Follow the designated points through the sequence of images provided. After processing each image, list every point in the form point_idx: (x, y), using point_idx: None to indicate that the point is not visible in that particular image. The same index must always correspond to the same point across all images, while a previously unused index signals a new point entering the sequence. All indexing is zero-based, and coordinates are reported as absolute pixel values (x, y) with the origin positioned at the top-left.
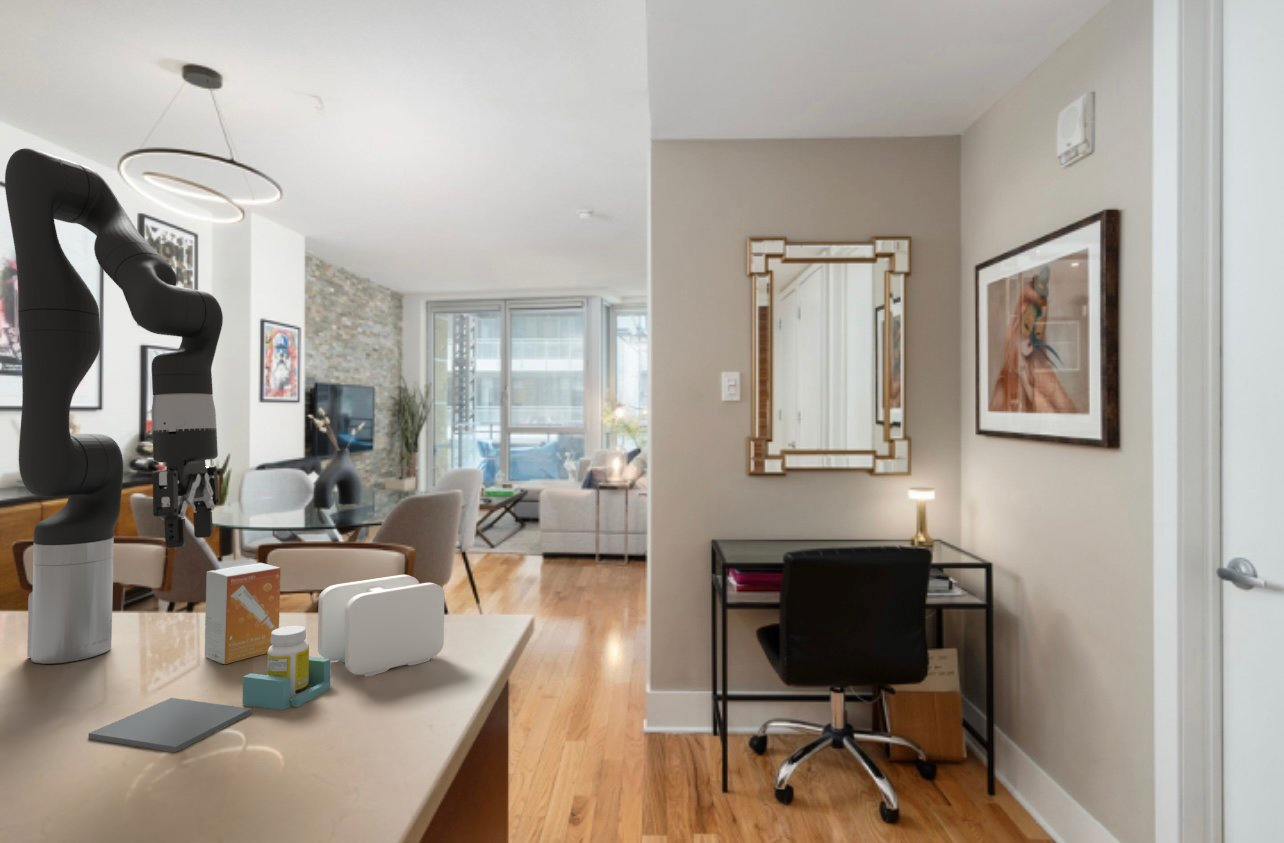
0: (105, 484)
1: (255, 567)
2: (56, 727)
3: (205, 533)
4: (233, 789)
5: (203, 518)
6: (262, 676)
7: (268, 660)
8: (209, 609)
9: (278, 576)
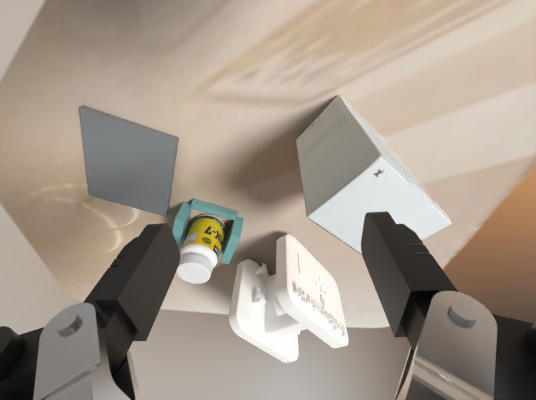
0: None
1: None
2: (90, 42)
3: (365, 246)
4: (68, 241)
5: (388, 292)
6: (178, 232)
7: (186, 241)
8: (341, 133)
9: None
